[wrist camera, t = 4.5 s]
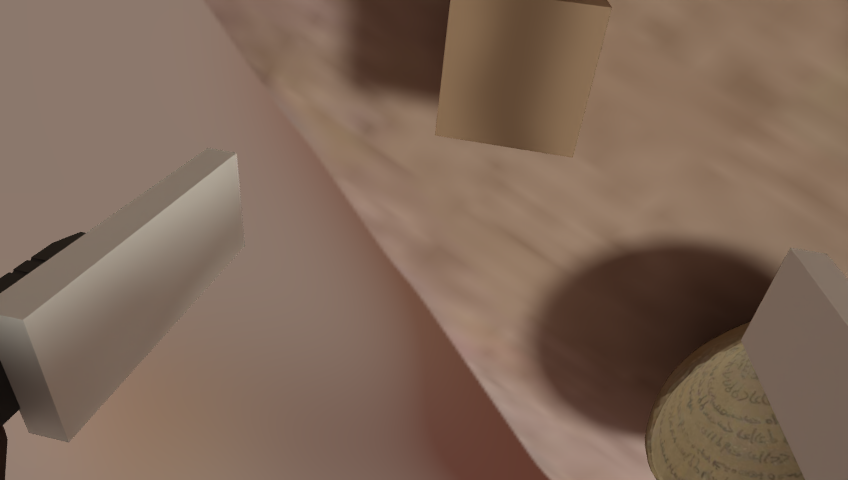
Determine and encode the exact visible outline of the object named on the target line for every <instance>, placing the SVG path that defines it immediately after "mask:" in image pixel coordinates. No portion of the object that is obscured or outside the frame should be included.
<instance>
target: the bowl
mask: <svg viewBox="0 0 848 480" xmlns="http://www.w3.org/2000/svg"><path fill="white" fill-rule="evenodd" d="M749 324H750V322H749V323H746V324H743V325H741V326H738V327H736V328H734V329H732V330H729V331H727V332H725V333H723V334H721V335H720V336H718V337H716V338H714V339H712V340H710V341H709V342H707V343H706V344H704V345H702V346H701V347H699V348H698V349H697V350H695V351H694V352H693V353H692V354H690V355H689V356H688V357H687V358H686V359H685V360H683V362H682V363H681V364H680V365H679V366H678V367H677V368H676V369H675V370H674V371H673V372H672V374H671V375H670V376H669V377H668V379H667V380H666V382H665V384H664V385H663V387H662V389H661V390H660V392H659V394H658V396H657V398H656V401H655V403H654V405H653V408H652V410H651V414H650V417H649V420H648V424H647V429H646V435H645V448H646V454H647V460H648V464H649V466H650V469H651V471H652V473H653V475H654V476H655V478H656V480H805V479H804V476H803V474H802V472H801V470H800V468H799V466H798V463H797V461H796V459H795V457H794V455H793V452H792V450H791V448H790V446H789V444H788V442H787V439H786V437H785V435H784V433H783V431H782V429H781V426H780V424H779V422H778V420H777V418H776V415H775V413H774V411H773V409H772V407H771V405H770V402H769V400H768V398H767V396H766V394H765V392H764V389H763V387H762V385H761V383H760V381H759V378H758V376H757V374H756V372H755V370H754V368H753V365H752V363H751V361H750V359H749V357H748V355H747V352H746V350H745V348H744V346H743V344H742V341H741V339H742V337H743V335H744V334H745V332H746V330H747V328H748V326H749Z"/></svg>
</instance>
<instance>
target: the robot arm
mask: <svg viewBox="0 0 848 480" xmlns="http://www.w3.org/2000/svg"><path fill="white" fill-rule="evenodd" d="M244 246H245V241H244V229H243V218H242V207H241V196H240V186H239V175H238V163H237V153H235V152H229V151H222V150H217V149H211V148H207V149H206V150H204V151H203V152H201V153H200V154H199V155H197V156H196V157H194V158H193V159H191V160H190V161H188V162H187V163H186V164H184V165H183V166H181V167H180V168H178V169H177V170H176V171H174V172H173V173H171V174H170V175H169V176H167V177H166V178H164V179H163V180H162V181H160V182H159V183H157V184H156V185H154V186H153V187H152V188H150V189H149V190H147V191H146V192H144V193H143V194H141V195H140V196H139V197H137V198H136V199H134V200H133V201H131V202H130V203H129V204H127V205H126V206H124V207H123V208H121V209H120V210H119V211H117V212H116V213H114V214H113V215H112V216H110V217H109V218H107V219H106V220H104V221H103V222H102V223H100V224H99V225H97V226H96V227H94V228H93V229H91V230H90V231H89V232H87V233H83V232H80V233H77V234H74V235H72V236H69V237H66V238H64V239H61V240H59V241H57V242H54V243H52V244H50V245H49V246H47V247H46V248H44V249H43V250H42V251H40V252H39V253H37V254H36V255H34V256H33V257H32V258H31V260H30V261H28V260H27V261H25V262H24V263H22V264H21V265H19V266H18V267H16V268H15V269H14V271H13V273H7V274H6V275H4V276H3V277H1V278H0V480H5V469H6V454H7V436H6V433H5V430H4V427H3V424H4V423H5V422H6V421H7V420H9V419H10V417H12V416H13V415H14V414H15V413H16V412H17V411H18V410H19V411H20V413H21V415H22V418H23V419H24V422H25V425H26V427H27V429H28V432H29V433H32V434H36V435H41V436H45V437H49V438H53V439H57V440H61V441H66V442H70V440H71V439H72V438H73V437H74V436H75V435H76V434H77V433H78V432H79V430H80V429H81V428H82V427H83V426H84V425H85V424H86V423H87V421H88V420H89V419H90V418H91V417H92V416H93V415H94V414H95V412H96V411H97V410H98V409H99V408H100V407H101V406H102V405H103V403H104V402H105V401H106V400H107V399H108V398H109V397H110V396H111V395H112V394H113V392H114V391H115V390H116V389H117V388H118V387H119V386H120V385H121V383H122V382H123V381H124V380H125V379H126V378H127V377H128V376H129V375H130V374H131V372H132V371H133V370H134V369H135V368H136V367H137V366H138V364H139V363H140V362H141V361H142V360H143V359H144V358H145V357H146V356H147V355H148V353H149V352H150V351H151V350H152V349H153V348H154V347H155V346H156V345H157V343H158V342H159V341H160V340H161V339H162V338H163V337H164V336H165V334H166V333H167V332H168V331H169V330H170V329H171V328H172V327H173V326H174V324H175V323H176V322H177V321H178V320H179V319H180V318H181V317H182V315H183V314H184V313H185V312H186V311H187V310H188V309H189V308H190V307H191V305H192V304H193V303H194V302H195V301H196V300H197V298H199V297H200V295H201V294H202V293H203V292H204V291H205V290H206V289H207V288H208V287H209V285H210V284H211V283H212V282H213V281H214V280H215V279H216V278H217V276H218V275H219V274H220V273H221V272H222V271H223V270H224V269H225V267H226V266H227V265H228V264H229V263H230V262H231V261H232V260H233V259H234V258H235V256H236V255H237V254H238V253H239V252H240V251H241V249H243V247H244ZM741 341H742V344H743V346H744V348H745V350H746V352H747V355H748V357H749V359H750V361H751V363H752V365H753V368H754V370H755V372H756V374H757V376H758V378H759V381H760V383H761V385H762V387H763V389H764V392H765V394H766V396H767V398H768V400H769V402H770V405H771V407H772V409H773V411H774V413H775V415H776V418H777V420H778V422H779V424H780V426H781V429H782V431H783V433H784V435H785V437H786V439H787V442H788V444H789V446H790V448H791V450H792V452H793V455H794V457H795V459H796V461H797V463H798V466H799V468H800V470H801V472H802V474H803V476H804V479H805V480H848V279H847V278H846V277H845V276H844V274H843V273H842V272H841V271H840V269H839V268H838V267H837V266H836V265H835V263H834V262H833V261H832V260H831V259H830V257H829V256H828V255H827V254H824V253H819V252H813V251H807V250H801V249H795V248H790V249H789V251H788V253H787V255H786V257H785V259H784V260H783V262H782V264H781V266H780V268H779V270H778V272H777V274H776V275H775V277H774V279H773V281H772V283H771V285H770V287H769V289H768V290H767V292H766V294H765V296H764V298H763V300H762V302H761V304H760V305H759V307H758V309H757V311H756V313H755V315H754V317H753V319H752V320H751V322H750V324H749V326H748V328H747V330H746V332H745V334H744V335H743V337H742V339H741Z"/></svg>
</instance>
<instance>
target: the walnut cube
mask: <svg viewBox="0 0 848 480" xmlns="http://www.w3.org/2000/svg"><path fill="white" fill-rule="evenodd" d="M611 9H612V7H611V5H610V4H609V2H608V1H607V0H450V7H449V16H448V25H447V34H446V43H445V51H444V60H443V69H442V78H441V87H440V96H439V105H438V113H437V122H436V131H435V135H437V136H443V137H449V138H455V139H461V140H467V141H474V142H480V143H486V144H492V145H498V146H505V147H511V148H517V149H523V150H529V151H535V152H542V153H548V154H554V155H560V156H566V157H573V155H574V151H575V147H576V143H577V140H578V136H579V132H580V128H581V124H582V121H583V117H584V113H585V109H586V105H587V101H588V98H589V94H590V90H591V86H592V82H593V78H594V75H595V71H596V67H597V63H598V59H599V55H600V52H601V48H602V44H603V40H604V36H605V32H606V29H607V25H608V21H609V17H610V13H611Z"/></svg>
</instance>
